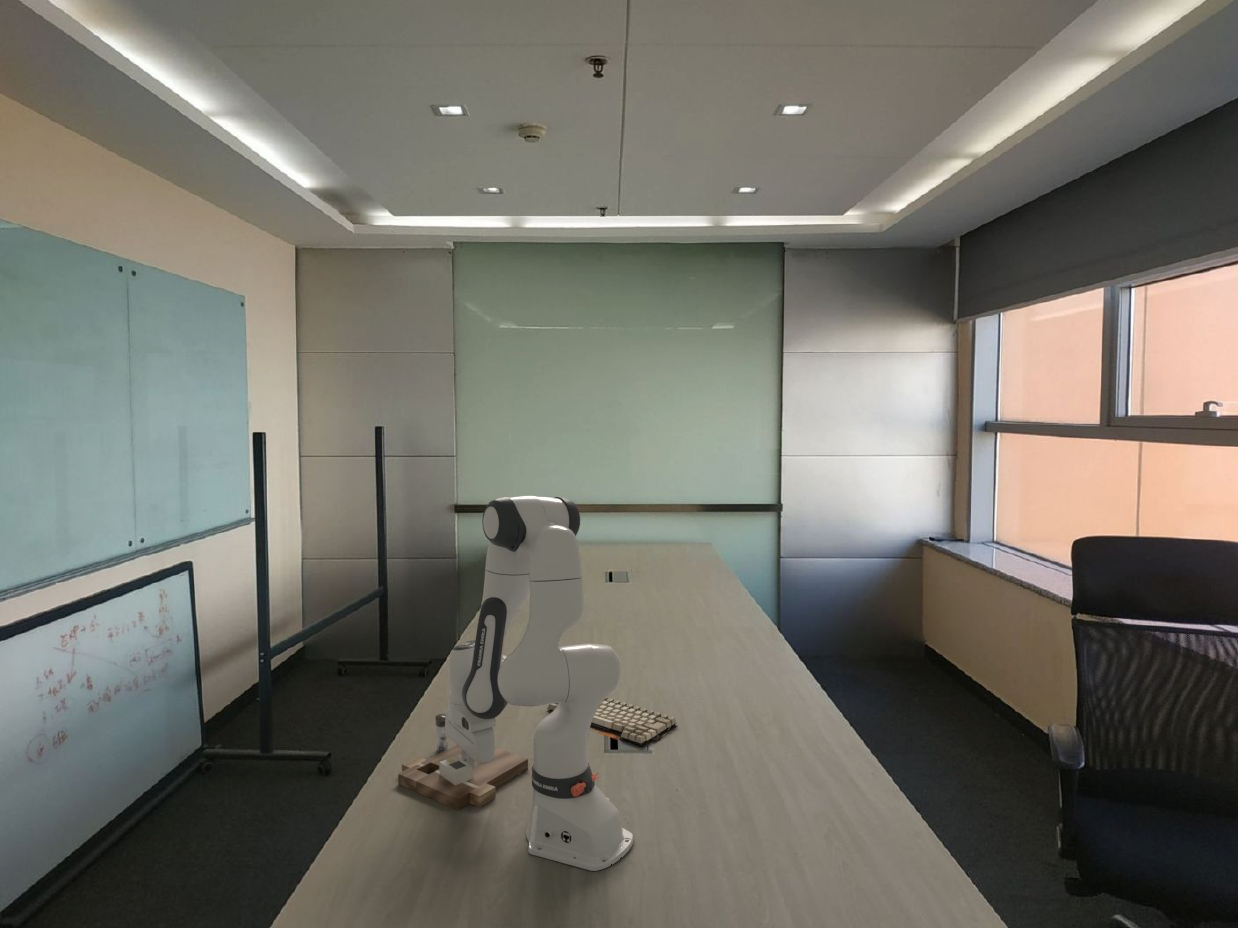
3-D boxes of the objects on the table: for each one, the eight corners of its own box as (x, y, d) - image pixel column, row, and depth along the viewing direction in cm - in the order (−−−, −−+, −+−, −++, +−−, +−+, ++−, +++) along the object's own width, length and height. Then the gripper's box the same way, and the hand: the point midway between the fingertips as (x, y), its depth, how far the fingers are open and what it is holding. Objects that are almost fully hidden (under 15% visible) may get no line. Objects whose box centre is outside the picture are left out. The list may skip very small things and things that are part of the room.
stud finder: (472, 778, 169) (472, 765, 169) (455, 785, 166) (455, 771, 165) (456, 768, 174) (456, 755, 174) (439, 774, 171) (439, 761, 170)
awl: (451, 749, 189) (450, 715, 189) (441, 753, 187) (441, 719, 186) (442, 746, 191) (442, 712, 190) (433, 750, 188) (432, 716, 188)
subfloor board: (537, 772, 177) (537, 762, 177) (467, 814, 158) (467, 803, 158) (462, 744, 192) (461, 735, 192) (390, 780, 173) (389, 770, 173)
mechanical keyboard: (538, 715, 212) (538, 704, 212) (580, 696, 228) (580, 685, 227) (645, 752, 190) (645, 739, 190) (683, 727, 205) (683, 716, 205)
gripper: (438, 699, 178) (438, 754, 178) (473, 728, 161) (474, 789, 162) (462, 693, 181) (463, 747, 182) (499, 721, 165) (499, 781, 165)
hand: (468, 767), depth 172 cm, fingers closed
